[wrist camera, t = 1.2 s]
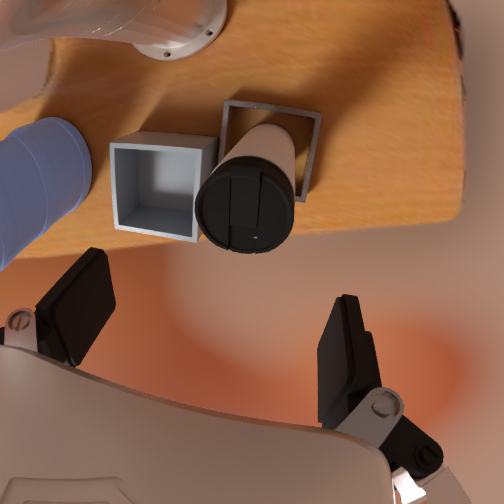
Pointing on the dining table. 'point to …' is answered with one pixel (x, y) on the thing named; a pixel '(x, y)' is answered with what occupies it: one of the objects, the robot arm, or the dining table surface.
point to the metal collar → (229, 103)
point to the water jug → (39, 181)
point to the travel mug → (251, 193)
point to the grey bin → (160, 182)
